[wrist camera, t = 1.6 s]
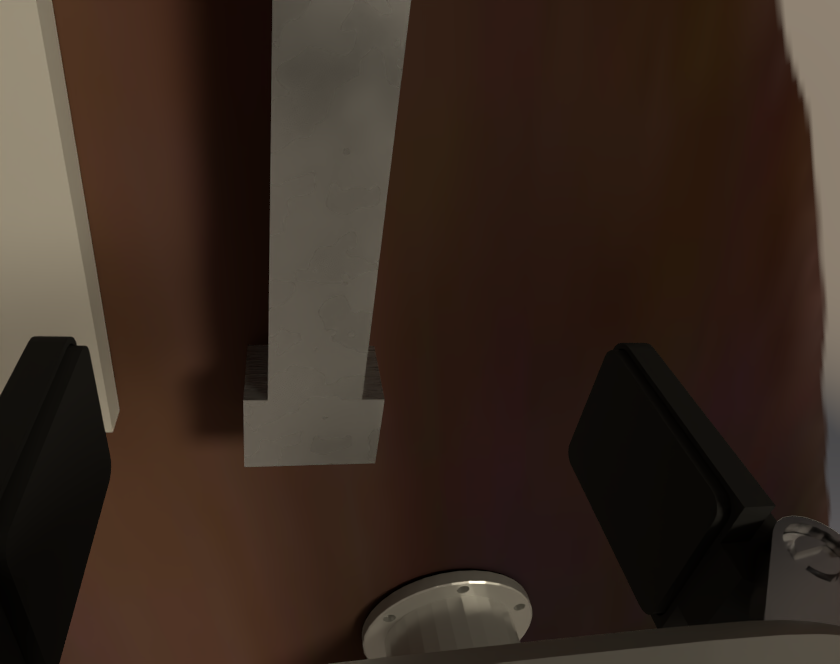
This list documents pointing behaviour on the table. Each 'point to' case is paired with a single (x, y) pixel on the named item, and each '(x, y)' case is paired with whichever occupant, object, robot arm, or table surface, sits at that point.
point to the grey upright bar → (325, 231)
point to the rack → (44, 204)
